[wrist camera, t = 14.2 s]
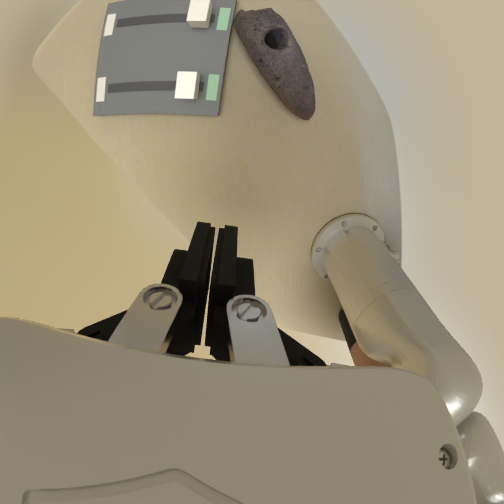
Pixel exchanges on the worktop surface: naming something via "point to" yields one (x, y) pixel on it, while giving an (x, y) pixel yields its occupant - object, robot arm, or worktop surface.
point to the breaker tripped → (199, 13)
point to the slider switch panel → (160, 57)
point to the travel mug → (356, 345)
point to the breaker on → (187, 85)
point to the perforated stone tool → (278, 58)
